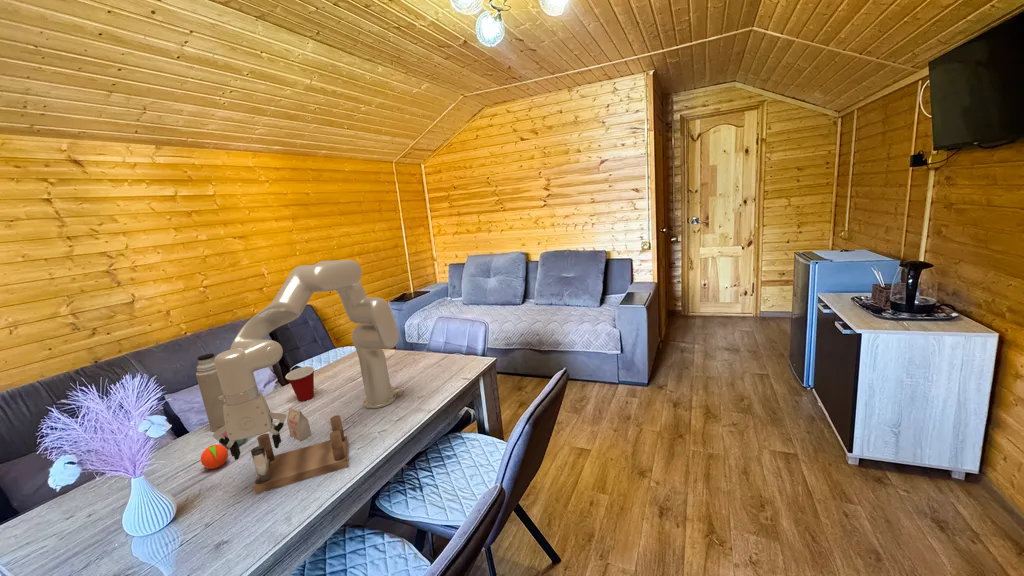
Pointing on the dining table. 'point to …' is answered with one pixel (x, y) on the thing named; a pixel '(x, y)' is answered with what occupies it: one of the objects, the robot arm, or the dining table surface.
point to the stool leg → (261, 463)
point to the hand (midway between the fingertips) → (258, 451)
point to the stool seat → (305, 459)
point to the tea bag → (298, 425)
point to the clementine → (214, 456)
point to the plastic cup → (302, 382)
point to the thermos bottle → (210, 391)
